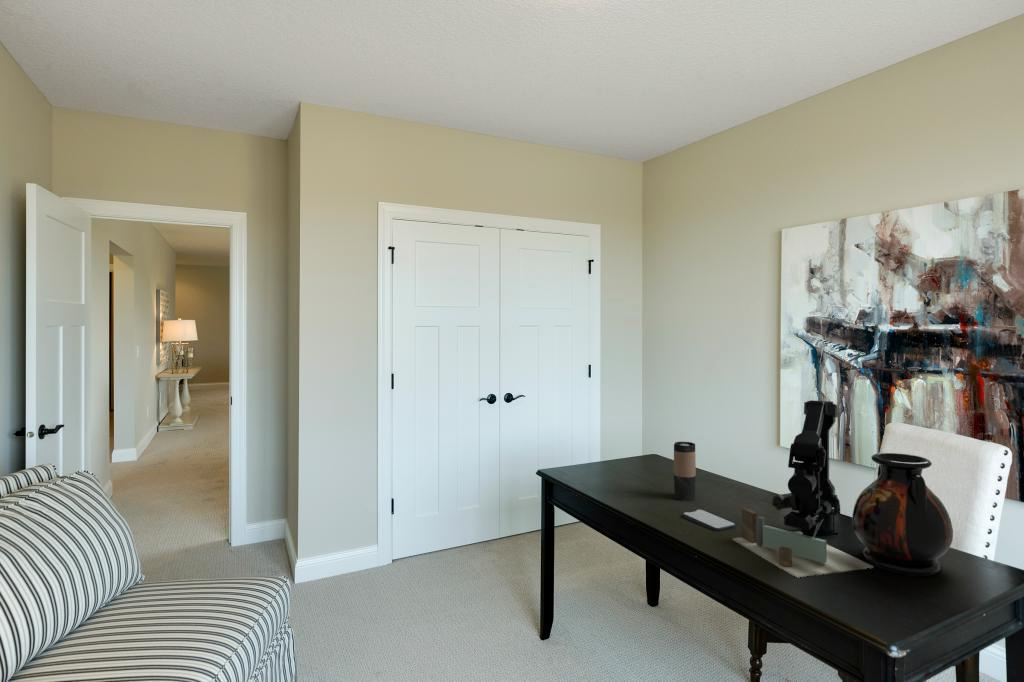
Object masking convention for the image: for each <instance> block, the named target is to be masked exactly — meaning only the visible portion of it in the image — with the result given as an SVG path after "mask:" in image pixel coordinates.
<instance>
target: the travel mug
mask: <svg viewBox="0 0 1024 682" xmlns="http://www.w3.org/2000/svg"><path fill="white" fill-rule="evenodd" d="M696 463H697V462H696V443H694V442H691V441H676V442H675V443H674V444H673V489H674V498H675V497H676V498H678V499H681V500H692V501H694V500H693V499H696V482H697V479H696V477H697V474H696V473H697V472H696V467H697V466H696ZM676 498H675V499H676ZM678 499H677V500H678ZM681 500H680V501H681Z"/></svg>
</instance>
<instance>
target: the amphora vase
mask: <svg viewBox="0 0 1024 682" xmlns="http://www.w3.org/2000/svg"><path fill="white" fill-rule="evenodd" d="M870 458H871V460H872V462H874V463H876V464H878V467H877V478H876V479H875V480H873V481H872V483H870V484H869V485H868V486H867V487H865V488H864V489H863V490H862V491H861V492H860V494H859V495H858V497H857V498H856V500H855V503H854V506H853V510H852V528H853V531H854V533H855V535H856V536H857V538H858V539H859V541H860V542H861V543H862V544H863V546H865V548H864V549H863V551H862V553H863V557H864V558H865V560H867V561H868V562H869V563H870V564H871V565H872V566H873V565H874V566H875V567H878V568H879V569H882V570H884V571H888V572H891V573H895V574H899V575H904V576H912V577H925V576H931V575H935V574H937V573H938V572H939V571H940V569H941V564H940V562H939V561H938V559H940V558H941V557H943V556H944V555H945V554H946V553H947V552H948V551H949V549H950V547H951V545H952V543H953V540H954V539H953V537H954V528H953V524H952V520H951V516H950V514H949V511H948V510H947V508H946V507H945V505H944V503H943V502H942V501H941V498H939V497H938V496H937V495H936V494H935V493H934V492H933V491H932V490H931V488H929V487H928V486H927V485H926V484H927V483H926V481H925V479H924V477H923V475H922V473H923V470H924V469H927V468H930V467H931V466H932V461H930V459H928V458H926V457H922V456H919V455H913V454H906V453H900V452H899V453H896V452H878V453H875V454H873V455H872V456H871V457H870Z"/></svg>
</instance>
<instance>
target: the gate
mask: <svg viewBox="0 0 1024 682" xmlns="http://www.w3.org/2000/svg"><path fill="white" fill-rule="evenodd" d="M795 532H796V531H791V530H786V529H782V528H779V527H774V526H770V525H766V524H765V518H764V517H763V516H757V517H756V544H757V545H759V546H764V547H768V548H771V549H775V550H778V551H779V548H780V547H787V548H790V549H791V550H792V555H796V556H800V557H803V558H807V559H810V560H814V561H817V562H821V563H826V562H827V544H828V543H827V540H826V539H823V538H818V537H816V536H815V537H811V536H807V535H803V534H799V533H795Z"/></svg>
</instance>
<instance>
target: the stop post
mask: <svg viewBox="0 0 1024 682" xmlns="http://www.w3.org/2000/svg"><path fill="white" fill-rule="evenodd" d="M779 565H780V566H783V567H792V550H791V549H790V548H787V547H780V548H779Z"/></svg>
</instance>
